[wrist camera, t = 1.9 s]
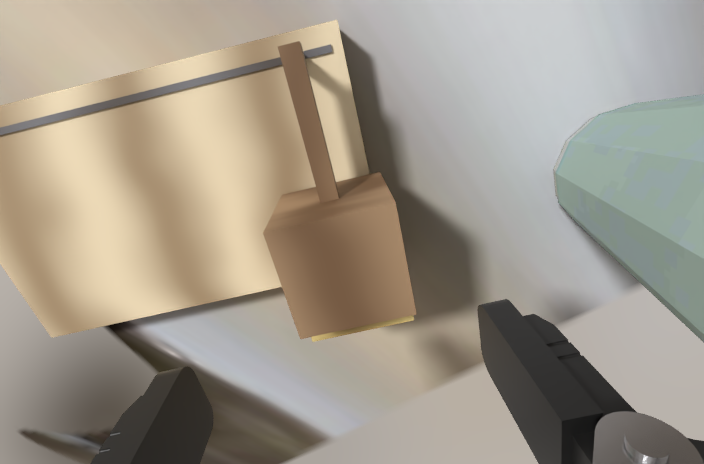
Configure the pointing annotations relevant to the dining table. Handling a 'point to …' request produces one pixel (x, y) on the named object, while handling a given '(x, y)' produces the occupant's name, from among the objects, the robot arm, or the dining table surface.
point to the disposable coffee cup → (644, 196)
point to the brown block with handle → (336, 236)
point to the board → (164, 180)
